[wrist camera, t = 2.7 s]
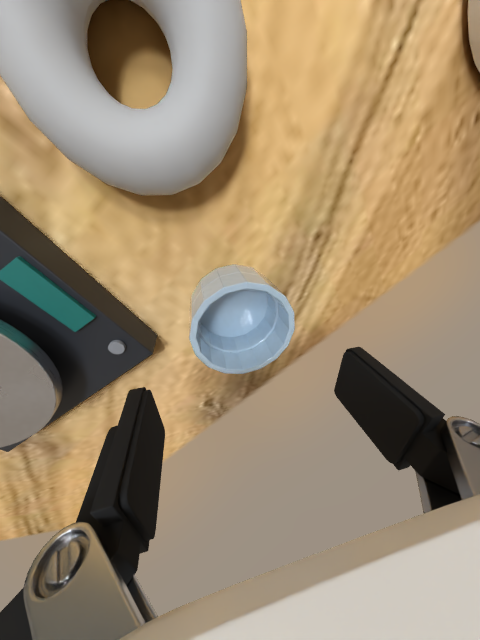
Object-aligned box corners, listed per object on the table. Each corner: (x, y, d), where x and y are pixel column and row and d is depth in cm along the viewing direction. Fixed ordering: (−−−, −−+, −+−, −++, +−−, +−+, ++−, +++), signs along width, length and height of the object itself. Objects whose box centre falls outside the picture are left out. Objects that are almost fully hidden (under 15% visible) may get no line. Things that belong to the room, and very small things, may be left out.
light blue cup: (245, 244, 15) (265, 258, 11) (284, 310, 18) (309, 339, 14) (171, 297, 16) (165, 327, 12) (222, 351, 19) (229, 388, 15)
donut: (131, 229, 13) (269, 139, 12) (113, 237, 10) (293, 120, 9) (-60, -18, 8) (155, -209, 7) (-213, -149, 5) (126, -509, 4)
